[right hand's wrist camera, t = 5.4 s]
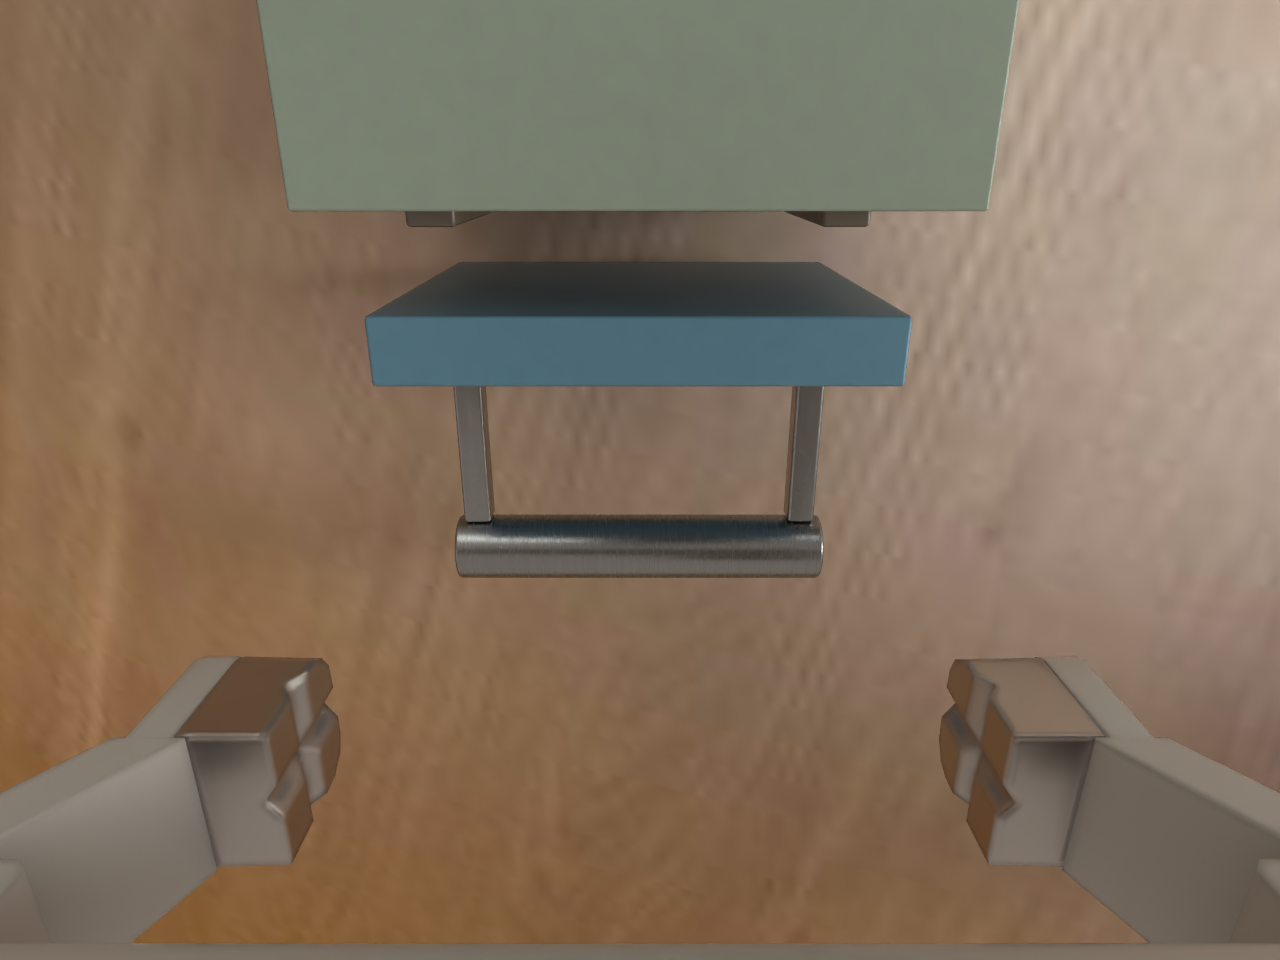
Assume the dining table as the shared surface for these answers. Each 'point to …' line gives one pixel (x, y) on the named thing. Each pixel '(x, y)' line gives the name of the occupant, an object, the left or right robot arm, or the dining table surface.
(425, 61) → the cabinet
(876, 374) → the drawer
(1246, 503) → the dining table surface
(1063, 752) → the right robot arm
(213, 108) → the dining table surface
